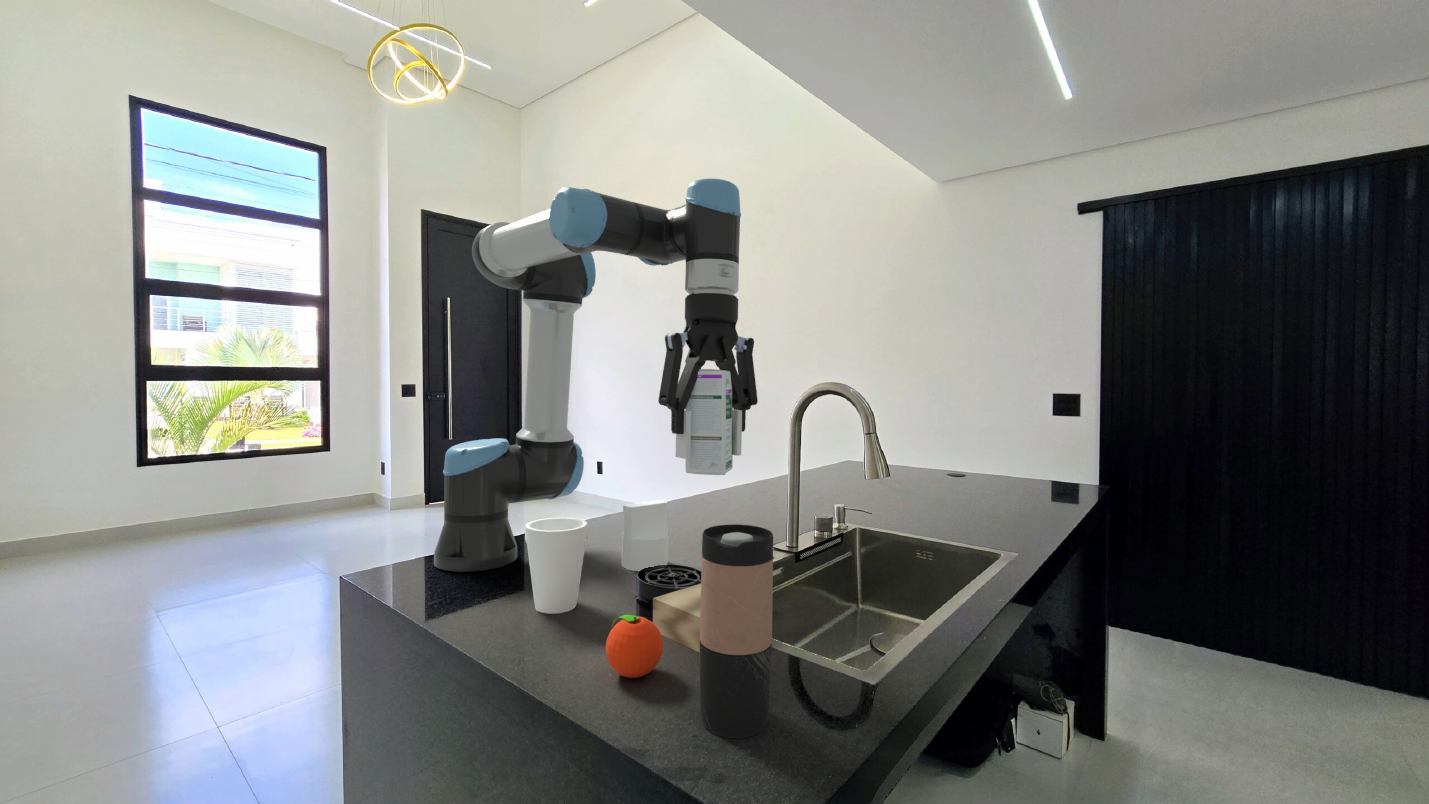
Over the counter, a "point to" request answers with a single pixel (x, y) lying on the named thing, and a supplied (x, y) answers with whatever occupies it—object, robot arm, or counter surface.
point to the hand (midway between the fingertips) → (708, 455)
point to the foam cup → (556, 561)
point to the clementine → (634, 646)
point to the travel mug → (736, 629)
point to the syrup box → (711, 423)
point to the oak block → (679, 616)
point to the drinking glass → (645, 534)
